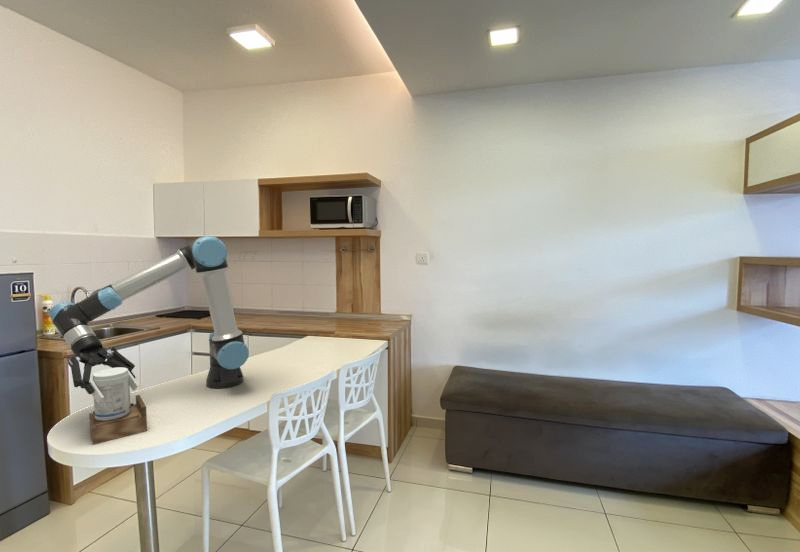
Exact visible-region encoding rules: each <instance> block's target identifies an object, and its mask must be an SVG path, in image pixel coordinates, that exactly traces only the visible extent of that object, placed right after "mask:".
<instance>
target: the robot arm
mask: <svg viewBox="0 0 800 552" xmlns="http://www.w3.org/2000/svg"><path fill="white" fill-rule="evenodd" d="M227 256H228V250H227V247H226V245H225V243H224V242H223V241H222V240H221V239H219V238H218V237H215V236H212V235H205V236H201V237H198V238H195V239H194V240H192V241H191V242H190V243H188V244H187V245H185V246H182V247H181V248H178V249H177V251H176V253H174V254H172V255H169V256H167V257H165V258H163V259H161V260H159V261H157V262H154V263H152V264H151V265H148V266H147V267H144V268H142V269H139V270H138V271H136V272H134V273H131V274H129V275H127V276H126V277H125V276H124V277H123V278H121V279H119V280H116V281H115V282H113V283H110V284H109V285H105V286H104V287H101V288H98V289H96V290H94V291H92V293H91V294H90V296H87V297H86V298H84V299H82V300H81V301H78V302H75V303H73V302H72V301H64V302H61V303H59V302H58V303H57V304H54V305H53V306H52V307H50V309H49V310H48V317H49V318H50V320H51V322H52V324H53V325H54V327H55V328H56V329H57V331H58V332H59V334H60V335H61V336H62V337H63V339H64V341H65V342H66V344H67V346H68V347H69V348H70V349H71V351H72V353H73V354H74V356H71V357H70V359H69V360H68V362H67V364H68V366H69V367H70V371H71V375H72V376H71V377H72V382H73V387H74V388H79V387H80V388H81V389H82V390H83V389H84V390H85V391H86V392H87V394H88V395H92V398H93V400H94V399H95V400H96V402H97V403H100V402H101V400H102V399H103V398H104V396H103V395H102V393H101V392H100V390H99V389H98V387H97V386H96V384H95V383H94V381H93V380H90V379H91V373H92V368H93V367H95V366H98V365H99V366H100V365H103V366H107V367H110V368H116V367H124V368H127V369H128V373H129V386H130V389H131V390H132V391H136V390H137V389H138V387H139V386H140V384H139V383H138V382H137V381H136V376H135V374H134V373H133V370H134V368H135V366H136V365H135V364H134V363H133V362H132V361H130V359H128V358H127V357H125V356H124V355H123V354H121V353H119V351H118V350H117V348H116V347H111V349H105V347H103V343H102V342H101V341H100V339H99V337H97V335H96V333H95V332H94V330H93V329H92V328H91V326H90V325H89V324H88V323H91V322H93V321H94V320H96V319H98V318H99V317H102V316H103V315H105V314H107V313H109V312H112V311H113V310H115V309H117V308H119V306H121V305H122V304H123V302H124V301H125V300H128V299H130V298H131V297H135V296H136V295H137V294H139V293H142V292H144V291H146V290H148V289H150V288H152V287H154V286H156V285H158V284H160V283H162V282H164V281H166V280H168V279H170V278H172V277H174V276H176V275H178V274H180V273H182V272H184V271H186V270H189V271H192V270H194V269H195V272H196V273H195V274H198V275H199V276H201V280H202V283H203V288H204V293H205V296H206V301H207V306H208V309H209V314H210V318H211V319H210V320H211V323H212V328H213V332H210V334H209V335H208V336H209V339H208V341H209V343H208V344H209V369H208V373H207V377H206V380H205V384H206V385H205V386H206V387H208V388H210V389H225V388H232V387H235V386H238V385H240V384H242V383H243V382H244V374H243V371H242V369H241V367H242V366H244V364H246V362H247V360H249V359H248V358H249V356H250V355H249V352H250V351H249V347H248V346H247V344H245V339H244V335H243V331H242V330H240V329H239V328H238V326H237V321H236V317H235V312H234V308H233V302H232V299H231V294H230V290H229V284H228V280H227V275H226V271H227V270H228V269H229V266H228V260H227ZM80 363H82V364H84V365H83V375H82V373H81V372H82V371H81V367H80Z"/></svg>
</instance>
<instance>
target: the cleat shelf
mask: <svg viewBox="0 0 800 552" xmlns="http://www.w3.org/2000/svg"><path fill="white" fill-rule="evenodd" d="M88 416H89V429H90V435H91V443H92V445H97V444H99V443H104V442H107V441H112V440H115V439H120V438H124V437H129V436H132V435H135V434H140V433H144V432H147V431H148V421H147V419H148V418H147V417H148V416H147V405H146V404H145V402H144V400H143V398H142V397H141V394H136V395H135V403H133V402H131V411H130V412H129V414H127V415H126V416H124V417H121V418H119V419H115V420H109V421H99V420H97V419H96V418H95V410H93V411H92V412H90V413H89V415H88Z"/></svg>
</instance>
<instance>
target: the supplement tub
mask: <svg viewBox="0 0 800 552" xmlns="http://www.w3.org/2000/svg"><path fill="white" fill-rule="evenodd" d="M92 381H94V383H95V384H96V386H97V387H98V389H99V390H100V392H101V393H102V395H103V396H104V398H103V399H102V400H101V402H100V403H97V402H96V400H95V399H94V398H93V406H94V409H93V411H95V418H96V419H97V420H99V421H109V420H115V419H119V418H121V417H124V416H126V415H127V414H129V412H130V411H131V403H132V402H131V387H130V386H129V373H128V369H127V368H124V367H116V368H111V367H110V368H105V369H101V370H97V371H94V373H92Z"/></svg>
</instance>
